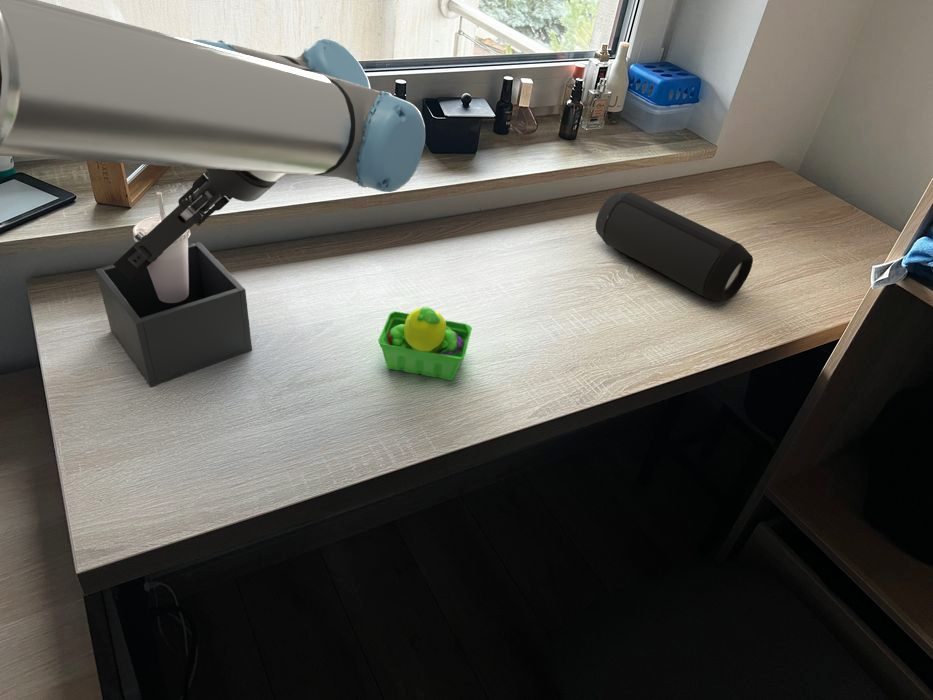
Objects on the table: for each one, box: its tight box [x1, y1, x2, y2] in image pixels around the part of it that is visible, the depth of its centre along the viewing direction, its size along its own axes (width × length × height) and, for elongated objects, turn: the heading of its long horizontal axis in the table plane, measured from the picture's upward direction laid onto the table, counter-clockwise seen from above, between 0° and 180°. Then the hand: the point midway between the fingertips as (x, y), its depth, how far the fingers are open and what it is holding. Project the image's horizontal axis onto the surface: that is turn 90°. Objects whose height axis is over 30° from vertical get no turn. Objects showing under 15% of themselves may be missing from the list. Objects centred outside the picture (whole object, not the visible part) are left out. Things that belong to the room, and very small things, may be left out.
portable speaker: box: [595, 191, 754, 302], centre depth 121 cm, size 26×10×10 cm, turn 44°
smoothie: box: [132, 191, 191, 303], centre depth 88 cm, size 6×6×14 cm
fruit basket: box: [378, 306, 473, 381], centre depth 94 cm, size 11×9×11 cm
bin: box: [95, 241, 253, 388], centre depth 94 cm, size 14×14×10 cm
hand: (139, 256), depth 90 cm, fingers closed on smoothie, 6 cm apart
